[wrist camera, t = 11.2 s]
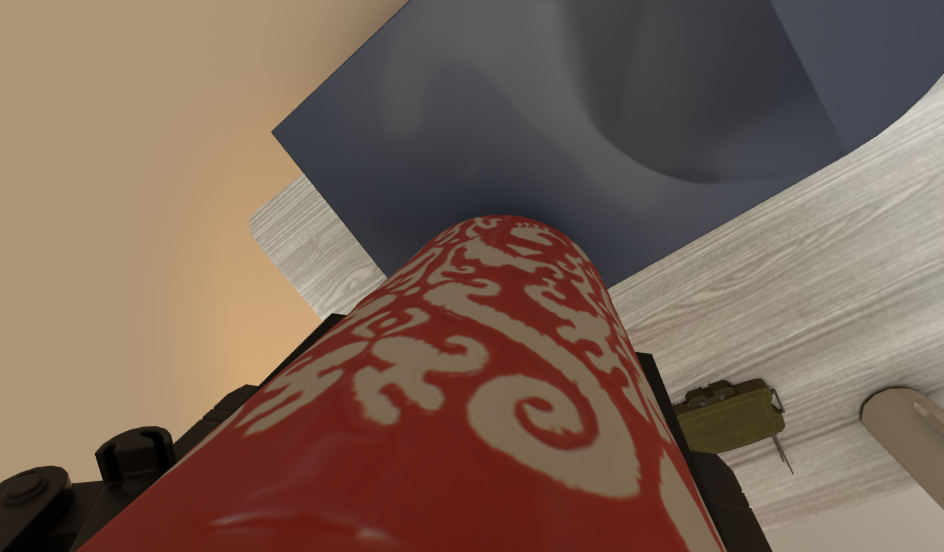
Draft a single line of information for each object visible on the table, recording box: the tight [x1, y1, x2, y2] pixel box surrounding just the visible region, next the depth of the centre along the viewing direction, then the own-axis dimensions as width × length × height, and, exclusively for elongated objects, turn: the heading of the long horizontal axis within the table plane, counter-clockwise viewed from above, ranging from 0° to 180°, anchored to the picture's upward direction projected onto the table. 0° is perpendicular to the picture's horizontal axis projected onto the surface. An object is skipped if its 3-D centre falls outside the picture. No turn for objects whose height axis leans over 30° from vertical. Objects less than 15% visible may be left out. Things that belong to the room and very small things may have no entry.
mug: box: [75, 215, 727, 552], centre depth 11 cm, size 13×9×14 cm
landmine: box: [673, 379, 794, 474], centre depth 58 cm, size 14×3×15 cm
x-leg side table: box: [272, 0, 944, 289], centre depth 33 cm, size 26×14×34 cm, turn 127°
